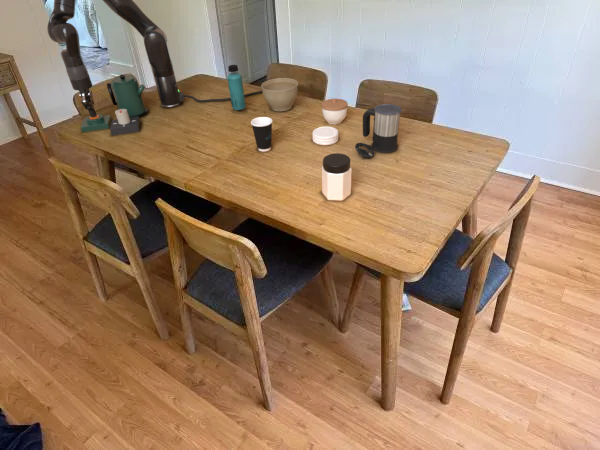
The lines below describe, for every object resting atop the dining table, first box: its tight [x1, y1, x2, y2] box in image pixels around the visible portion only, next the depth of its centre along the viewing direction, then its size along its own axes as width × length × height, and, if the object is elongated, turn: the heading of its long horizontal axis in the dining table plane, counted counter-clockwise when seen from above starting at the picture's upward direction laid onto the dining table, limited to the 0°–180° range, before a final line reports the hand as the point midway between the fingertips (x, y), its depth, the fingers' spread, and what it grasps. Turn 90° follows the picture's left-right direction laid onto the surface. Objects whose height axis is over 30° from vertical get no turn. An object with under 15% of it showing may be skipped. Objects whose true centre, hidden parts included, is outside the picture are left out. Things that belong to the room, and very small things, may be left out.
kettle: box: [106, 74, 149, 119], centre depth 183 cm, size 18×13×18 cm
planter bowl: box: [260, 77, 299, 112], centre depth 183 cm, size 16×16×11 cm
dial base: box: [109, 116, 141, 136], centre depth 175 cm, size 11×10×3 cm
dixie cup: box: [250, 116, 273, 152], centre depth 152 cm, size 8×8×11 cm
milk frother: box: [354, 103, 402, 159], centre depth 145 cm, size 14×16×15 cm
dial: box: [114, 108, 130, 125], centre depth 173 cm, size 5×5×5 cm
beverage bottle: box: [226, 64, 247, 111], centre depth 180 cm, size 6×7×20 cm
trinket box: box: [320, 98, 349, 125], centre depth 169 cm, size 11×11×9 cm
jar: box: [321, 152, 353, 201], centre depth 125 cm, size 9×8×12 cm
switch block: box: [80, 113, 113, 133], centre depth 179 cm, size 11×10×4 cm
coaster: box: [311, 125, 339, 146], centre depth 157 cm, size 10×10×4 cm
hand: (93, 116), depth 178 cm, fingers closed
